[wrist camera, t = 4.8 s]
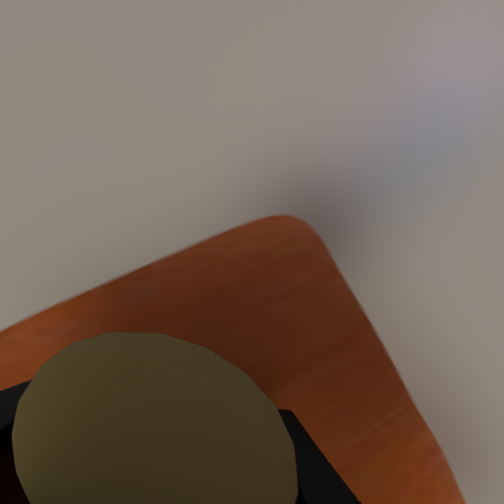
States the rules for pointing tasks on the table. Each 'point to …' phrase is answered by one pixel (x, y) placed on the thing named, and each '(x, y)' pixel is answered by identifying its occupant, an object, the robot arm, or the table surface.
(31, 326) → the table surface
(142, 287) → the table surface
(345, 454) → the table surface
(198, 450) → the olive pawn figure
